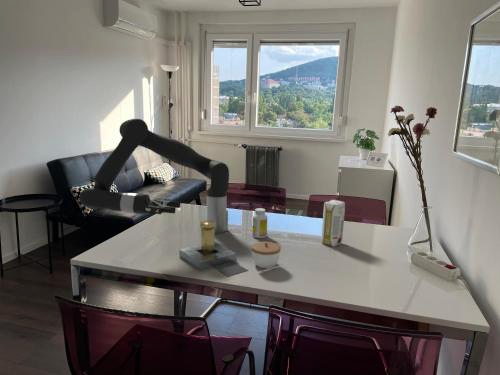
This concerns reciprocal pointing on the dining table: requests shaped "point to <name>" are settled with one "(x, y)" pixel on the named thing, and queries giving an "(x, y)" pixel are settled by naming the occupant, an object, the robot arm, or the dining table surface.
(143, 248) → the dining table surface
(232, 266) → the rubber mat
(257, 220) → the supplement bottle
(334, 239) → the juice carton
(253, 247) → the lidded jar
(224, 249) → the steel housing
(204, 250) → the brass plug
